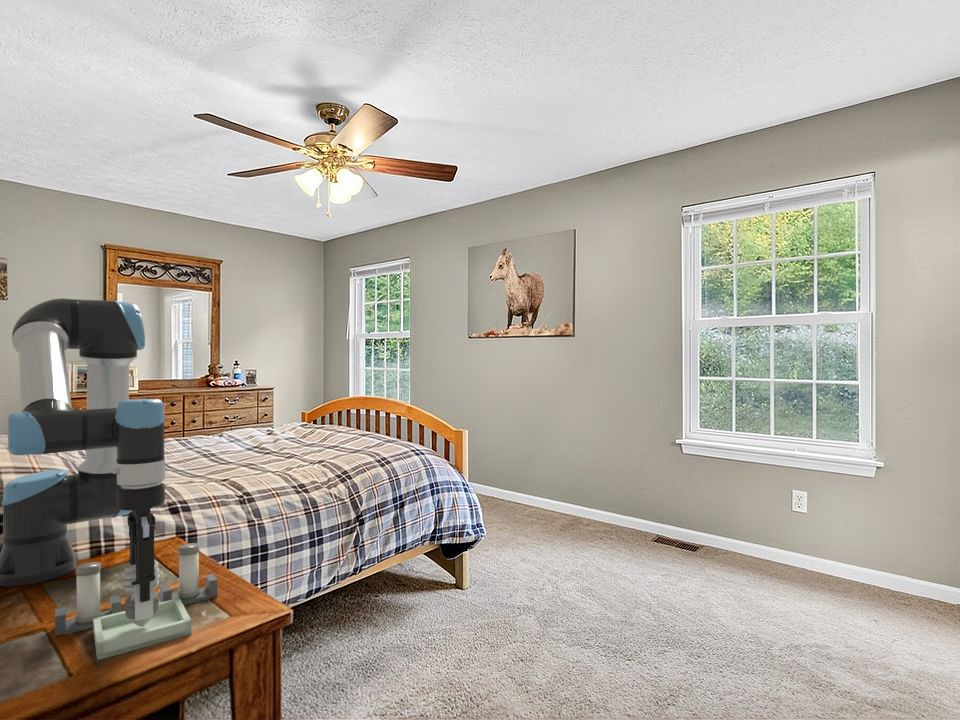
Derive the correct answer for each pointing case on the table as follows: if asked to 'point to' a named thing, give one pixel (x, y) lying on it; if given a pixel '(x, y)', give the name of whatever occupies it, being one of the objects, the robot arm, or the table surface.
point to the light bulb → (130, 601)
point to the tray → (140, 629)
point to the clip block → (115, 606)
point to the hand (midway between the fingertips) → (141, 611)
